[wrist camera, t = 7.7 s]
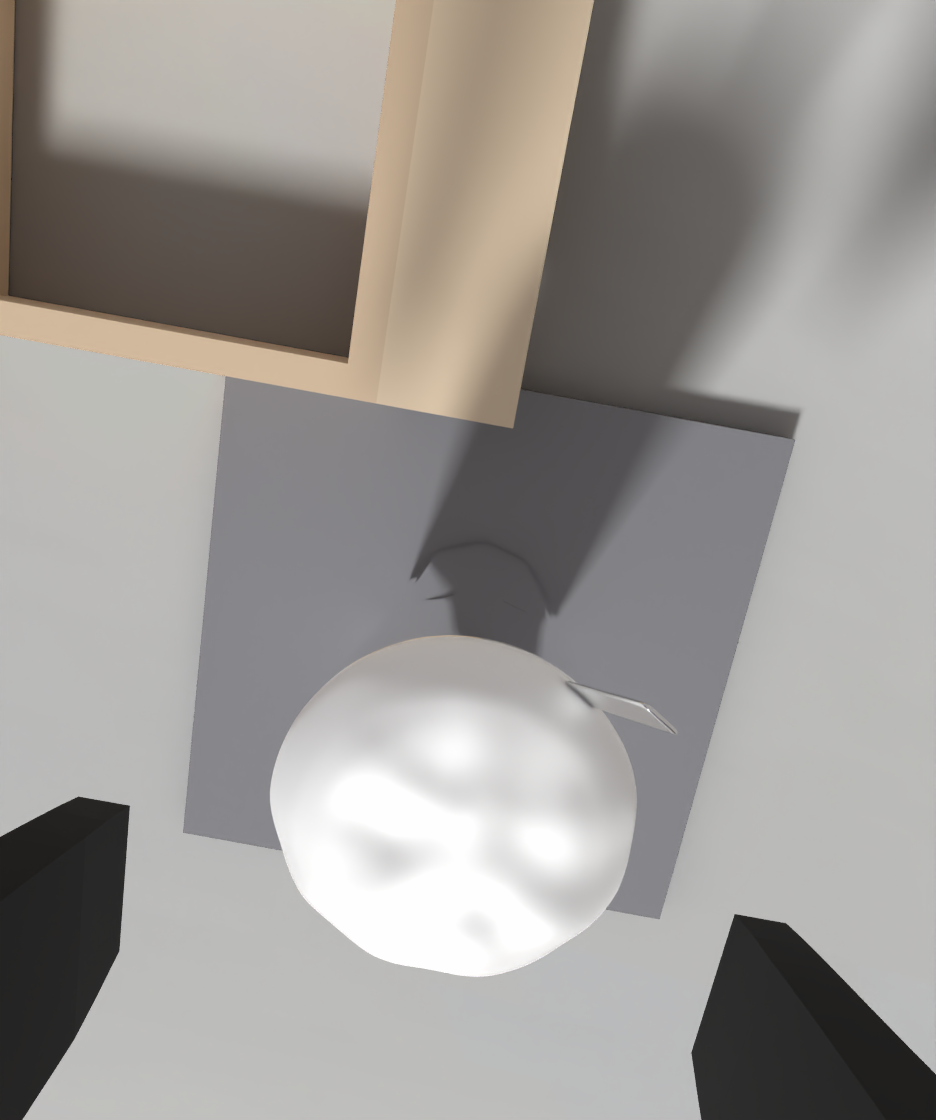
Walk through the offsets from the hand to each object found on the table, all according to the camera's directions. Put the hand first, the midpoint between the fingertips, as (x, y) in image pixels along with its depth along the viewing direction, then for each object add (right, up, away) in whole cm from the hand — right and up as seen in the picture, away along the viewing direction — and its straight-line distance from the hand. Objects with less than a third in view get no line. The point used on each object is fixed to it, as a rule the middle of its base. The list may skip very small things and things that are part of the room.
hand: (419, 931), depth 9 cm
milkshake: (+1, +3, +9) cm, 9 cm away
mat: (0, +2, +9) cm, 10 cm away
